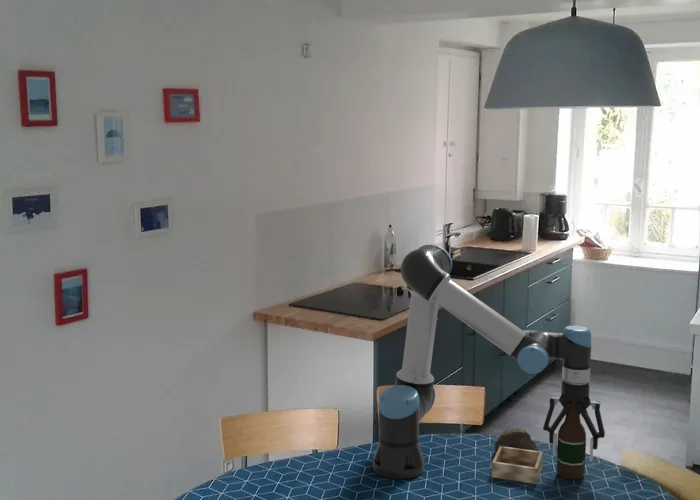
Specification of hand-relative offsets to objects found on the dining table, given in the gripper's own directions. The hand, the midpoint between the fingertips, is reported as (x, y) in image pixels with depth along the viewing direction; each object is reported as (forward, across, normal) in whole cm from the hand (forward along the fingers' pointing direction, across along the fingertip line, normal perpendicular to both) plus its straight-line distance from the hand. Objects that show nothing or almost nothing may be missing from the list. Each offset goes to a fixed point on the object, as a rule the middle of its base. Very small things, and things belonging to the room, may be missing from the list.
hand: (572, 456), depth 213 cm
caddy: (+6, -15, -3) cm, 16 cm away
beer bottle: (+6, 0, 0) cm, 6 cm away
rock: (+6, -18, +12) cm, 22 cm away
